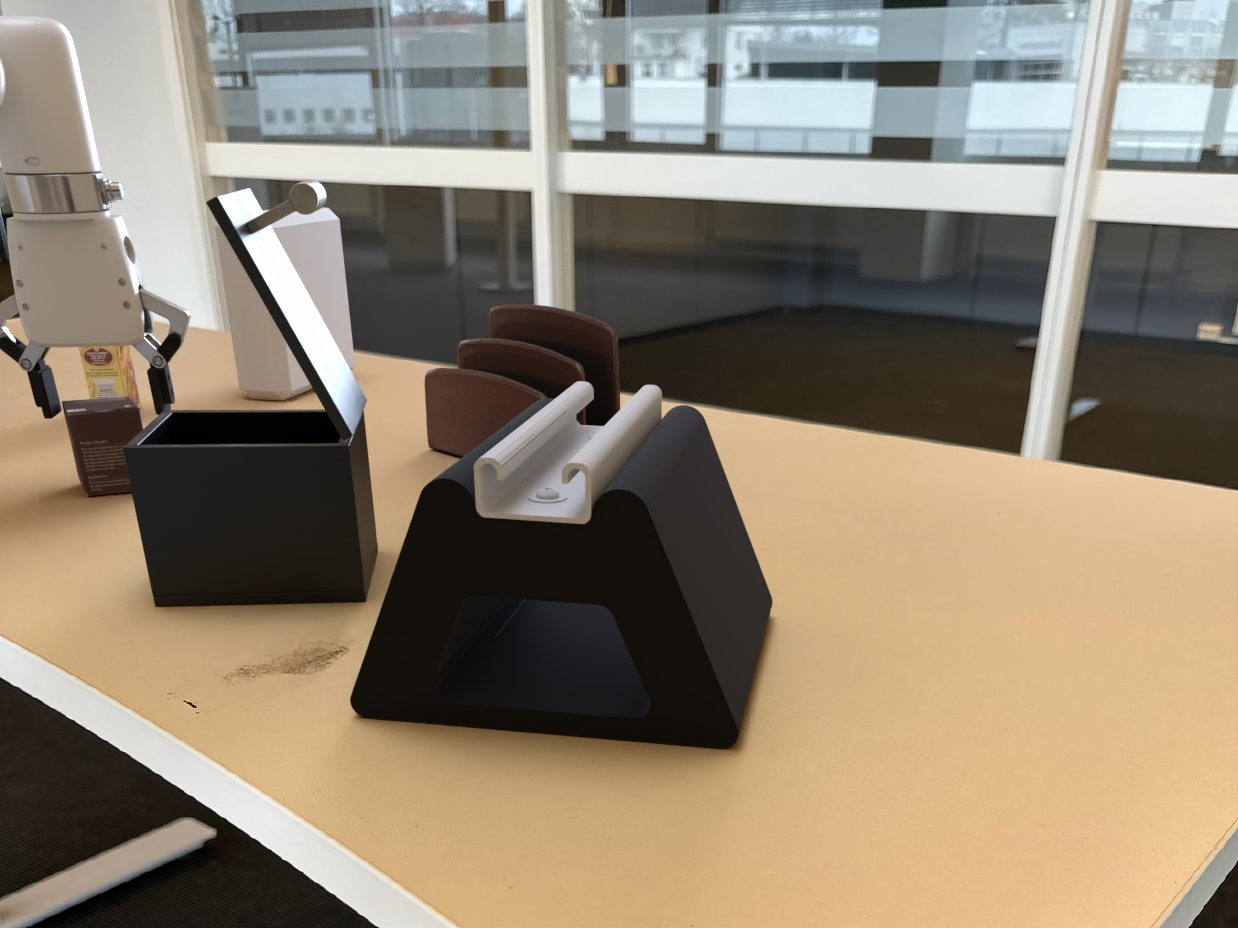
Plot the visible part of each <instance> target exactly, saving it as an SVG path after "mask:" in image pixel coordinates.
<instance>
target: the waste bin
mask: <svg viewBox="0 0 1238 928" xmlns="http://www.w3.org/2000/svg"><path fill="white" fill-rule="evenodd" d="M364 411H365V410H364V409H363V412H362V414H361V417H360V419H359V421H358V424H357V426H356V429H355V431H354V434H353V436H352V437H350V438H348V439H346V440H342V438H341V437H340V435H339V433H338V432H337V430H336V428H335V426H334V425H333V423H332V421H331V419H330V418H329V416H328V414H327V412H326V411H325V409H324V408H323V409H171V410H164V411H163V412H162V413H161V414H160V415H158V414H157V416H156V417H155V418H154V419H153V420H151V421H150V422H149V423H148V424H147V425H146V426H145V427H143V430H142V431H141V432H140V433H139V434H138V435H136V436H135V437H134V438H133V439H132V440H131V441H130V442H129V443H128V444H126V445H125V446H124V447H123V453H124V457H125V462H126V467H127V472H128V477H129V482H130V487H131V491H130V492H131V497H132V502H133V506H134V511H135V515H136V519H137V520H136V521H137V525H138V530H139V535H140V541H141V546H142V551H143V556H144V559H145V565H146V569H147V575H148V579H149V585H150V589H151V594H152V600H153V603H154V606H155V607H178V606H179V607H180V606H181V607H182V606H185V607H187V606H188V607H189V606H225V605H226V606H227V605H230V606H231V605H269V604H272V605H273V604H276V605H277V604H312V603H313V604H316V603H317V604H318V603H321V604H322V603H359V602H360V603H361V602H364V603H365V602H367V598H368V594H369V590H370V586H371V582H372V579H373V578H372V576H373V573H374V569H375V566H376V561H377V556H378V552H379V546H378V545H379V544H378V537H377V526H376V518H375V508H374V507H375V506H374V499H373V497H374V496H373V489H372V488H373V487H372V478H371V470H370V468H371V467H370V458H369V449H368V439H367V430H366V419H365V412H364Z"/></svg>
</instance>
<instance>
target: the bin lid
mask: <svg viewBox="0 0 1238 928" xmlns="http://www.w3.org/2000/svg"><path fill="white" fill-rule="evenodd" d="M289 190H290V191H289V194H288V199H287V200H286V201H283V202H281V203H279V204H278V205H276V206H274V207H272V208H271V209H268V210H269V211H267V212H265V213H263V208H262V207H261V205H260V204H259V201H258V200H257V198H256V197H255V195H254V192H253V191H252V189H251V188H250V187H246V188H243V189H239V190H235V191H232V192H227V193H224V194H220V195H218V196H214V197H212V198H210V199H209V200H207V201H206V203H205V204H206V206H207V207H208V209H209V211H210V212H211V214H212V216H213V217H214V220H215V221H216V224H217V223H218V225H219V226H220V228H221V230H222V231H223V233H224V235H225V237H226V238H227V240H228V242H229V244H230V245H231V247H232V249H233V251H234V252H235V254H236V256H237V258H238V259H239V261H240V263H241V265H242V266H243V268H244V270H245V271H246V273H247V275H248V277H249V278H250V280H251V282H252V284H253V285H254V287H255V289H256V291H257V292H258V294H259V296H260V298H261V299H262V301H263V303H264V305H265V306H266V308H267V310H268V311H269V313H270V315H271V317H272V318H273V320H274V322H275V324H276V325H277V327H278V329H279V331H280V332H281V334H282V336H283V338H284V339H285V341H286V343H287V345H288V346H289V348H290V350H291V351H292V353H293V355H294V357H295V358H296V360H297V362H298V364H299V365H300V367H301V369H302V371H303V372H304V374H305V376H306V378H307V379H308V381H309V383H310V385H311V386H312V388H313V389H312V390H313V392H314V393H315V395H316V397H317V399H318V400H319V402H320V404H321V406H322V407H323V409H325V411H326V412H327V414H328V416H329V418H330V419H331V421H332V423H333V425H334V426H335V428H336V430H337V432H338V433H339V435H340V437H341V438H342V440H346V439H348V438H350V437H352V436H353V434H354V431H355V429H356V426H357V424H358V421H359V419H360V417H361V414H362V412H363V410H364V409H365V406H366V404H367V402H368V398H367V397H366V395H365V393H364V391H363V390H362V388H361V387H360V384H359V383H358V381H357V379H356V377H355V375H354V373H353V372H352V370H350V368H349V366H348V364H347V363H346V361H345V359H344V357H343V355H342V354H341V352H340V350H339V348H338V346H337V345H336V343H335V341H334V339H333V337H332V336H331V334H330V332H329V330H328V328H327V326H326V325H325V323H324V321H323V319H322V317H321V316H320V314H319V312H318V310H317V308H316V307H315V305H314V303H313V301H312V299H311V298H310V296H309V294H308V292H307V290H306V289H305V287H304V285H303V283H302V281H301V280H300V278H299V276H298V274H297V272H296V270H295V269H294V267H293V265H292V263H291V261H290V260H289V258H288V256H287V254H286V252H285V251H284V249H283V247H282V245H281V243H280V242H279V240H278V238H277V236H276V234H275V233H274V231H273V229H272V227H271V224H273V223H275V222H277V221H278V220H280V219H282V218H284V217H286V216H288V215H290V214H291V213H293V212H295V211H297V212H298V213H300V214H303V215H309V214H312V213H313V212H315V211H317V210H319V209H321V208H324V207H325V204H326V202H327V191H326V188H325V187H324V186H323V184H322V183H320V182H319V181H317V180H316V179H306V180H303V181H300V182H297V183H295V184H293V185H292V187H291V188H290V189H289Z"/></svg>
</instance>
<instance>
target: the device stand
mask: <svg viewBox="0 0 1238 928" xmlns="http://www.w3.org/2000/svg"><path fill="white" fill-rule="evenodd" d="M593 399H594V390H593V387H592V385H591V384H590V383H588V382H583V381H578V382H576V383H574V384H573V385H572V386H570V387H569V388H568V389H567V390H565V391H564V392H563V393H562V394H560V395H559V396H558V397H556V398H555V399H552V398H543V399H540V400H538V401H537V402H535V403H534V404H533V405H531V406H530V407H529V408H527V409H526V410H525V411H523V412H522V413H521V414H519V415H518V416H517V417H515V418H514V419H513V420H511V421H510V422H509V423H507V424H506V425H505V426H503V427H502V428H501V429H499V430H498V431H497V432H495V433H494V434H493V435H491V436H490V437H489V438H488V439H486V440H485V441H484V442H482V443H481V444H480V445H478V446H477V447H476V448H474V449H473V450H472V451H470V452H469V453H468V454H466V455H465V456H464V457H460V459H458V460H457V461H455V462H454V463H453V464H452V465H450V466H449V467H448V468H446V469H445V470H444V471H442V472H440V474H439V475H437V476H436V477H434V478H433V479H432V480H430V481H429V482H428V483H427V484H426V485H424V487H423V488H422V489H421V491H420V493H419V496H418V499H417V502H416V504H415V507H414V510H413V514H412V517H411V519H410V521H409V525H408V528H407V531H406V534H405V537H404V540H403V543H402V546H401V548H400V552H399V555H398V557H397V560H396V563H395V566H394V569H393V571H392V575H391V577H390V581H389V583H388V586H387V589H386V591H385V594H384V595H385V596H384V597H383V601H382V604H381V605H380V608H379V609H380V611H379V612H378V616H377V617H376V620H375V624H374V627H373V630H372V633H371V637H370V639H369V641H368V644H367V647H366V651H365V654H364V656H363V659H362V662H361V665H360V668H359V671H358V674H357V677H356V678H355V683H354V686H353V688H352V691H351V694H350V696H349V703H350V706H351V709H352V710H353V711H354V712H355V713H356V714H357V715H358V716H360V717H362V718H364V719H373V720H383V721H384V720H386V721H396V722H397V721H398V722H407V723H408V722H409V723H421V724H431V725H442V726H452V727H453V726H454V727H464V728H465V727H466V728H477V729H489V730H500V731H513V732H522V733H534V734H535V733H536V734H546V735H558V736H568V737H569V736H570V737H581V738H590V739H591V738H592V739H603V740H616V741H626V742H638V743H648V744H649V743H651V744H661V745H673V746H684V747H686V746H687V747H695V748H696V747H697V748H706V749H707V748H708V749H709V748H710V749H720V750H727V749H730V748H732V747H733V746H734V745H735V744H736V743H737V742H738V740H739V736H740V733H741V729H742V725H743V722H744V718H745V714H746V709H747V706H748V702H749V697H750V693H751V689H752V686H753V683H754V679H755V674H756V670H757V667H758V662H759V658H760V654H761V650H762V646H763V642H764V639H765V634H766V632H767V631H766V630H767V627H768V623H769V619H770V616H771V611H772V607H773V603H774V601H773V596H772V594H771V592H770V589H769V586H768V584H767V581H766V578H765V576H764V573H763V570H762V567H761V565H760V562H759V560H758V556H757V554H756V552H755V549H754V546H753V544H752V541H751V538H750V536H749V533H748V530H747V528H746V525H745V521H744V520H743V517H742V515H741V511H740V509H739V506H738V504H737V501H736V498H735V496H734V493H733V490H732V488H731V484H730V482H729V480H728V477H727V473H726V472H725V469H724V466H723V464H722V461H721V458H720V455H719V453H718V451H717V447H716V446H715V442H714V439H713V438H712V437H713V436H712V434H711V432H710V429H709V427H708V423H707V422H706V419H705V417H704V415H703V413H701V411H699V409H697V408H696V407H693V406H691V405H688V404H687V405H686V404H681V405H677V406H674V407H672V408H670V409H669V410H668V411H667V412H666V413H665V415H664V416H662V415H663V414H662V413H663V392H662V389H661V388H660V387H659V386H658V385H656V384H645V385H643V386H642V387H641V388H640V389H639V390H638V391H637V392H636V393H634V395H633V396H632V397H630V399H629V400H628V401H627V402H626V403H625V404H624V405H623V406H622V407H620V410H619V411H618V412H617V413H616V414H615V415H614V416H613V417H612V418H611V419H610V420H609V422H608V423H607V424H606V425H605V426H590V425H580V424H579V422H578V421H577V420H576V414H577V413H579V412H580V411H581V410H582V409H583V408H584V407H585V406H586V405H588V404H589V403H590V402H591V401H592V400H593Z"/></svg>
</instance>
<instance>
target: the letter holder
mask: <svg viewBox="0 0 1238 928" xmlns="http://www.w3.org/2000/svg"><path fill="white" fill-rule="evenodd" d="M488 332H489V337H476V338H465V339H461V340H460V341H459V343H458V345H457V349H456V354H457V355H456V356H457V368H453V367H437V368H432V369H429V370H427V371H426V373H425V374H424V383H423V385H424V386H423V387H424V398H425V399H424V400H425V402H424V403H425V415H426V416H425V419H426V420H425V422H426V423H425V424H426V437H427V446H428V448H430V450H431V449H432V450H435V451H439V452H441V453H446V454H449V455H451V456H456V457H459V458H462V457H464V456H465V455H466V454H468V453H469V452H470V451H472V450H473V449H474V448H476V447H477V446H478V445H480V444H481V443H482V442H484V441H485V440H486V439H488V438H489V437H490V436H491V435H493V434H494V433H495V432H497V431H498V430H499V429H501V428H502V427H503V426H505V425H506V424H507V423H509V422H510V421H511V420H513V419H514V418H515V417H517V416H518V415H519V414H521V413H522V412H523V411H525V410H526V409H527V408H529V407H530V406H531V405H533V404H534V403H535V402H537V401H538V400H540V399H543V398H552V399H555V398H556V397H558V396H559V395H560V394H562V393H563V392H564V391H565V390H567V389H568V388H569V387H570V386H572V385H573V384H574V383H576V382H578V381H583V382H588V383H590V384H591V385H592V387H593V390H594V399H593V400H592V401H591V402H590V403H589V404H588V405H586V406H585V407H584V408H583V409H582V410H581V411H580V412H579V413H577V414H576V420H577V421H578V422H579V424H580V425H590V426H605V425H606V424H607V423H608V422H609V420H610V419H611V418H612V417H613V416H614V415H615V414H616V413H617V412H618V411H619V410H620V409H621V383H620V381H621V380H620V368H619V366H620V365H619V337H618V336H619V335H618V333H617V330H616V328H615V327H614V326H613V325H611V324H610V323H608V322H606V321H603V320H600V319H598V318H596V317H592V316H590V315H587V314H583V313H580V312H577V311H574V310H568V309H565V308H561V307H555V306H549V305H540V304H526V303H511V304H510V303H509V304H498V305H493V306H492V307H491V308H490V309H489V311H488Z"/></svg>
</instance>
